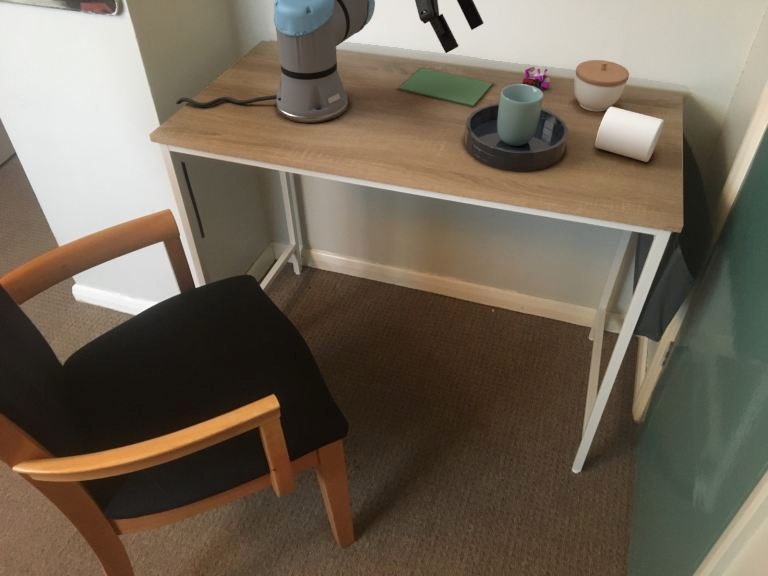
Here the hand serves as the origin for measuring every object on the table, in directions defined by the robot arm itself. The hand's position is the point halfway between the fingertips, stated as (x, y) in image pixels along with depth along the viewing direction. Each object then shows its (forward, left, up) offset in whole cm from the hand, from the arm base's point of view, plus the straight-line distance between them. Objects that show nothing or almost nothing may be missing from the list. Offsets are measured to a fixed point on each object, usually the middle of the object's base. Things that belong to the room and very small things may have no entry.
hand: (465, 38), depth 120 cm
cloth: (-7, +9, -15) cm, 19 cm away
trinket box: (+25, +16, -16) cm, 34 cm away
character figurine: (+11, +19, -16) cm, 27 cm away
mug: (+35, +1, -16) cm, 38 cm away
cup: (+15, -8, -15) cm, 23 cm away
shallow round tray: (+15, -8, -15) cm, 23 cm away
